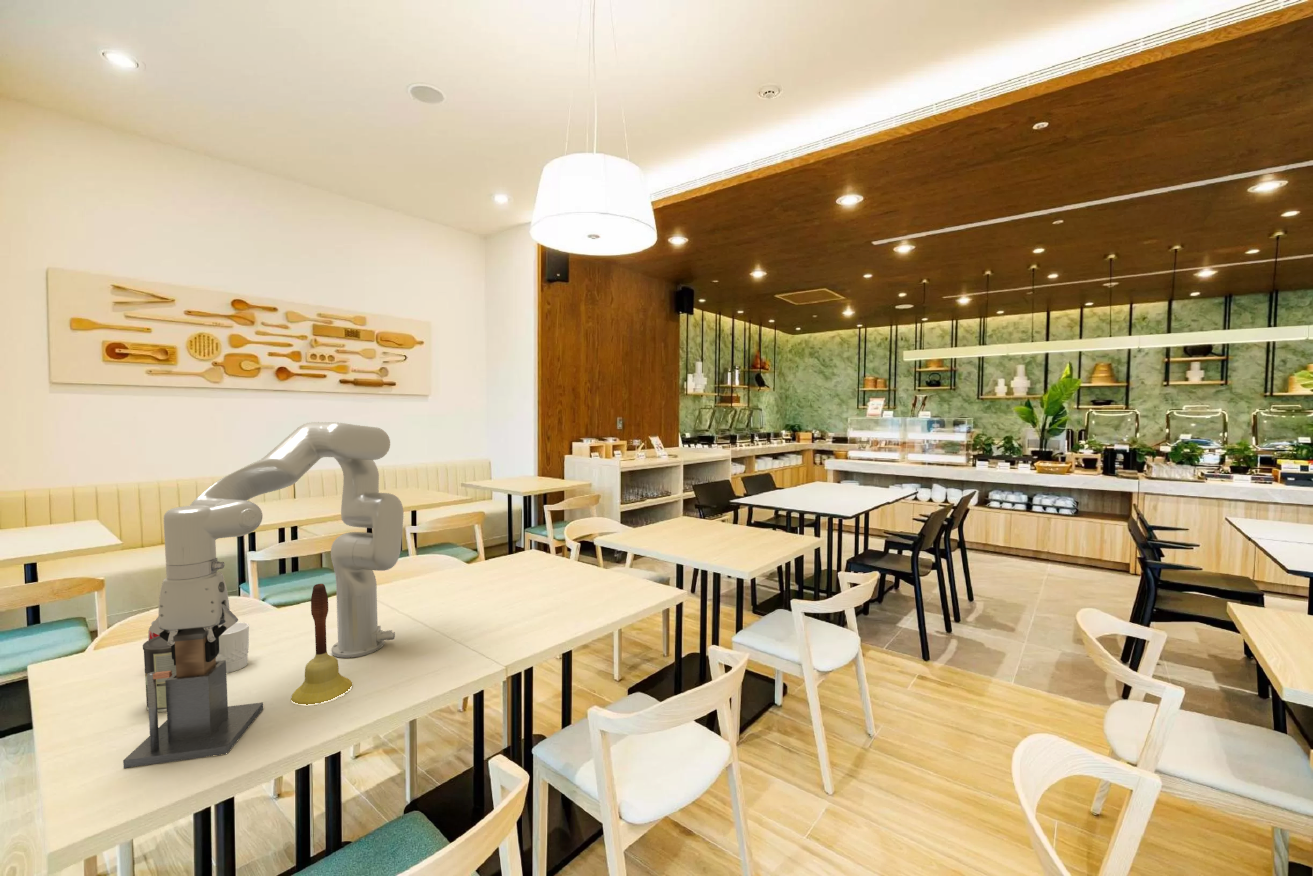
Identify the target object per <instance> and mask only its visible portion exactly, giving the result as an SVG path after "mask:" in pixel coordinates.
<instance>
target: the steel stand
mask: <svg viewBox="0 0 1313 876" xmlns="http://www.w3.org/2000/svg"><path fill="white" fill-rule="evenodd" d="M162 678H168V679H167V680H165V685H166V705H167V712H166V721H164V722H163V723H162V724H160V726H159V716H158V715H159V714H158V713H159V712H158V711H157V691H156V679H162ZM227 682H228V678H227V673H226V660H222V661H216V666H215V667H213V668H212V669H211V670H210V671H209V672H208V673H207V674H205V675H197V676H187V677H178V678H177V677H176V672H175V673H174V674H173V675H172V671H162V672H150V673H148V674H147V688H148V708H149V711H148V723H149V724H148V727H149V736H148V737H147V738H146V739H145V740H143V741H142V742H141V744H140V745H138V746H137V747H136V748H135V749H134V750H132V752H131V753H129V754H128V755H127V756H126V757H125V758H124V759H123V760H122V762H123V763H122V764H123V769H129V768H135V767H142V766H151V765H157V764H165V763H166V764H167V763H172V762H173V763H174V762H179V761H186V760H194V759H201V758H202V759H203V758H207V757H206V756H210V757H214V756H213V755H217V756H222V755H221V754H224V755H227V754H229V752H230V751H231V750H232V749H233V747H234V746H235V745H236V744H237V743H238V741H239V740H240V738H241V737H242V736H243V735H244V734H245V732H246V731H247V730H248V728H250V726H251V725H252V723H253V722H254V721H255V720H256V719H257V717H259V715H260V714H261V712H262V711H263V710H264V702H255V703H246V704H245V703H244V704H238V705H229V704H228V701H229V700H228V684H227ZM255 718H256V719H255ZM243 733H244V734H243ZM242 734H243V735H242ZM238 739H239V740H238ZM237 740H238V741H237ZM234 744H235V745H234ZM230 749H231V750H230ZM226 753H227V754H226Z"/></svg>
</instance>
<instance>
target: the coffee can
mask: <svg viewBox="0 0 1313 876" xmlns="http://www.w3.org/2000/svg"><path fill="white" fill-rule="evenodd" d="M142 650H143V660H144V676H145V677H144V678H145V679H144V681H145V697H146V698H145V699H146V707H145V709H146V710H147V711H148V712H149V708H148V688H147V674H148V673H150V672H162V671H172V675H173V674H174V673H175V672H176V665H174V660H173V659H172V652H171V646H170V645H168V643H167V641H166V640H164V639H163V638H161V637H160V636H157V637H154V638H152V639H150V640H147V641H145V642H144V643H143V644H142ZM167 679H168V678H162V679H156V691H157V711H158V713H167V705H166V685H165V680H167Z"/></svg>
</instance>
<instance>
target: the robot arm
mask: <svg viewBox="0 0 1313 876" xmlns="http://www.w3.org/2000/svg"><path fill="white" fill-rule="evenodd" d="M390 448H391V439H390V437H389V435H388V433H387V432H386V431H385V430H383V429H382V428H380V427H377V426H376V427H375V426H368V425H366V426H365V425H358V424H351V423H345V422H344V423H343V422H336V421H335V422H332V421H331V422H326V421H325V422H323V421H321V422H320V421H316V422H315V421H314V422H313V421H311V422H306V423H303V424H301V425H300V426H299V427H297V428H296V429H294V430H293V431H292V432H291V433H290V434H289V435H288V436H287V437H285V438H284V439H283V440H282V441H281V442H280V443H279V444H277V445H276V446H275V447H274V448H273V449H271V450H270V452H268V453H267V454H266V455H264V456H263V457H262V458H261V459H259V460H257V461H255V462H253V463H252V462H251V463H250V464H248V465H246V466H244V467H242V468H240V469H238V470H236V471H233V472H231V473H229V474H227V475H225V476H223V477H221V478H220V479H218V480H217V481H215V482H214V483H212V484H211V485H210V486H209V487H208V488H206V489H205V490H204V491H203V492H201V494H199V495H198V496H197V497H196V498H195V499H194V500H193V501H192V502H191V504H189V505H185V506H184V505H183V506H178V507H174V508H170V509H168V510H167V511H166V512H165V513H164V515H163V530H164V531H163V532H164V550H165V553H164V554H165V572H166V574H165V575H166V577H165V578H164V579H162V583H161V588H160V592H159V600H158V616H157V617H156V619H155V620H153V621H154V623H153V624H150V627H148V632H149V631H151V632H153V633H155V634H157V635H160V637H161V638H163V639H164V640H166V641H167V643H168V645H170V646H171V652H172V659H173V660H174V665H176V656H175V642H173V636H175V635H176V634H178V633H179V632H180V631H182V630H184V629H194V628H204V630H205V632H206V636H207V640H208V641H207V642H206V643H205V657H206V662H211V661H212V660H213V659H214V658H215V657H216V656H217V655H218V654H219V636H221V635H222V634H223V633H224V632H225V631H226V630H227V629H228V628H230V627H231V626H232V625H234V624H235V623H236V622H239V619H238V617H237V616H236V615H235V614H234V613H233V612H232V611H231V609H230V600H229V594H228V589H227V588H228V587H227V584H226V581H225V577H224V574H223V572H222V571H219V570H221V569H224V568H225V562H224V561H218V557H217V549H216V547H217V544H216V542H217V541H216V540H218V539H225V538H238V537H243V536H246V535H249V534H251V533H253V532H254V531H255V530H257V529H258V528H259V527H260V526H261V523H262V521H263V512H262V510H261V508H260V506H258V504H256V503H254V502H253V501H249V500H250V499H253V498H255V497H258V496H260V495H264V494H267V493H271V492H275V491H279V490H283V489H285V488H289V487H291V486H293V485H295V484H296V483H297V482H298V481H299V480H300V479H301V478H302V477H303V476H305V474H306V473H307V472H308V471H309V470H310V469H311V468H313V466H315V465H316V463H318V462H319V460H321V459H322V458H333V459H334V460H336V462H337V463H338V465H339V466H340V469H341V471H342V474H343V475H342V476H343V479H342V480H343V481H342V483H343V485H342V493H341V494H342V495H341V509H340V517H341V521H342V522H343V523H344V524H345V525H346V526H349V527H354V528H365V529H372V532H359V531H351V532H350V531H349V532H346V533H342V534H341V535H339V536H337V537H336V539H334V541H332V544H331V547H330V558H331V559H330V560H331V563H332V566H333V570H334V575H335V584H336V585H335V586H336V587H335V588H336V616H337V617H336V618H337V621H336V623H337V624H336V625H337V642H336V643H335V644H334V645H332V646H331V650H330V651H331V654H332V656H334V657H335V658H341V659H342V658H343V659H346V658H347V659H348V658H350V657H351V658H358V657H363V656H366V655H369V654H372V653H374V651H375V652H376V650H377V651H378V650H380V649H381V648H383V646H384V645H385V641H390V640H391V641H393V640H395V638H396V632H395V631H394V632H393V630H392V629H390V630H389V629H388V630H383V629H382V626H381V625H378V623H379V622H378V597H377V596H378V595H377V594H378V593H377V591H378V590H377V589H378V588H377V587H378V585H377V579H376V574H375V572H374V571H377V572H378V571H379V572H382V571H389V570H390V569H392V568H394V567H395V566H396V564H397V562H398V561H399V559H400V555H401V551H402V540H403V529H404V527H403V526H404V507H403V504H402V501H401V500H400V498H399V497H398V496H396V494H395V495H394V494H393V493H389V492H379V489H380V487H379V486H380V485H379V484H380V483H379V482H380V481H379V480H380V474H379V468H378V466H377V464H376V463H375V461H376V460H381V459H382V458H384V457H385V456H386V455H387V454H388V452H389V451H390ZM222 619H224V620H225V623H224V624H223V625H222V626H219V623H220V620H222Z"/></svg>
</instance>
